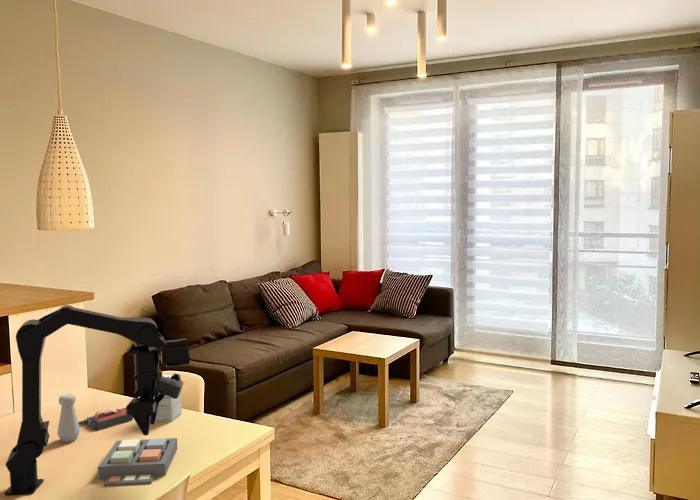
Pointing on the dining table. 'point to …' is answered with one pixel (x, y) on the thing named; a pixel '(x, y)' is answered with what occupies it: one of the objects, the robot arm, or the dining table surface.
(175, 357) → the robot arm
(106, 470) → the keypad
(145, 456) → the key terracotta
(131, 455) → the key sage
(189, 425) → the dining table surface
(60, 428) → the salt shaker
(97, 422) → the walkie-talkie
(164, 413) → the supplement box
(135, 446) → the key offwhite
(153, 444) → the key slate
